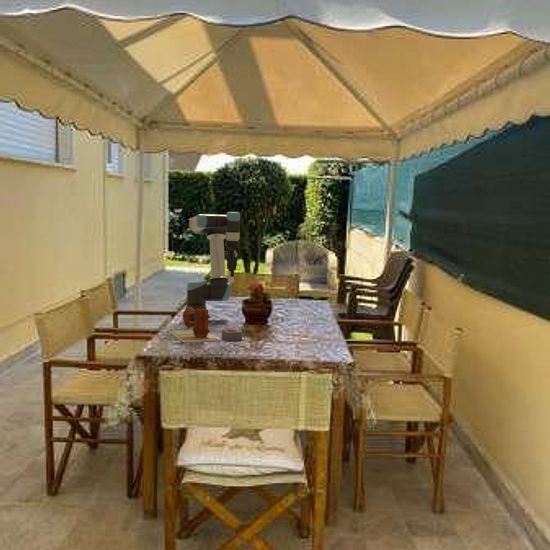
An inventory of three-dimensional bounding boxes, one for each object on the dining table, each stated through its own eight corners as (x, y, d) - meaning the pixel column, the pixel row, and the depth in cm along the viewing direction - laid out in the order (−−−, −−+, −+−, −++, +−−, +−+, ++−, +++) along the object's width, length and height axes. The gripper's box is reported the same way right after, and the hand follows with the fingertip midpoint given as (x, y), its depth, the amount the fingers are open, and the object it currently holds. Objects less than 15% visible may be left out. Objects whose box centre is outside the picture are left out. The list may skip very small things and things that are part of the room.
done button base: (221, 337, 334) (221, 329, 333) (235, 336, 337) (236, 329, 337) (227, 340, 327) (227, 332, 326) (241, 339, 330) (241, 331, 330)
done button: (227, 335, 333) (227, 328, 332) (233, 335, 334) (233, 328, 334) (229, 336, 329) (229, 330, 329) (236, 336, 331) (236, 329, 331)
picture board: (169, 332, 340) (169, 330, 340) (201, 330, 348) (201, 328, 348) (183, 342, 317) (183, 340, 317) (218, 340, 325) (218, 338, 325)
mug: (212, 335, 330) (213, 307, 329) (206, 338, 322) (207, 309, 321) (186, 333, 334) (186, 305, 332) (180, 336, 326) (180, 307, 324)
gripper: (221, 239, 355) (220, 281, 357) (230, 240, 343) (229, 284, 346) (234, 239, 358) (232, 280, 360) (243, 241, 346) (241, 283, 349)
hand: (231, 282), depth 353 cm, fingers closed
